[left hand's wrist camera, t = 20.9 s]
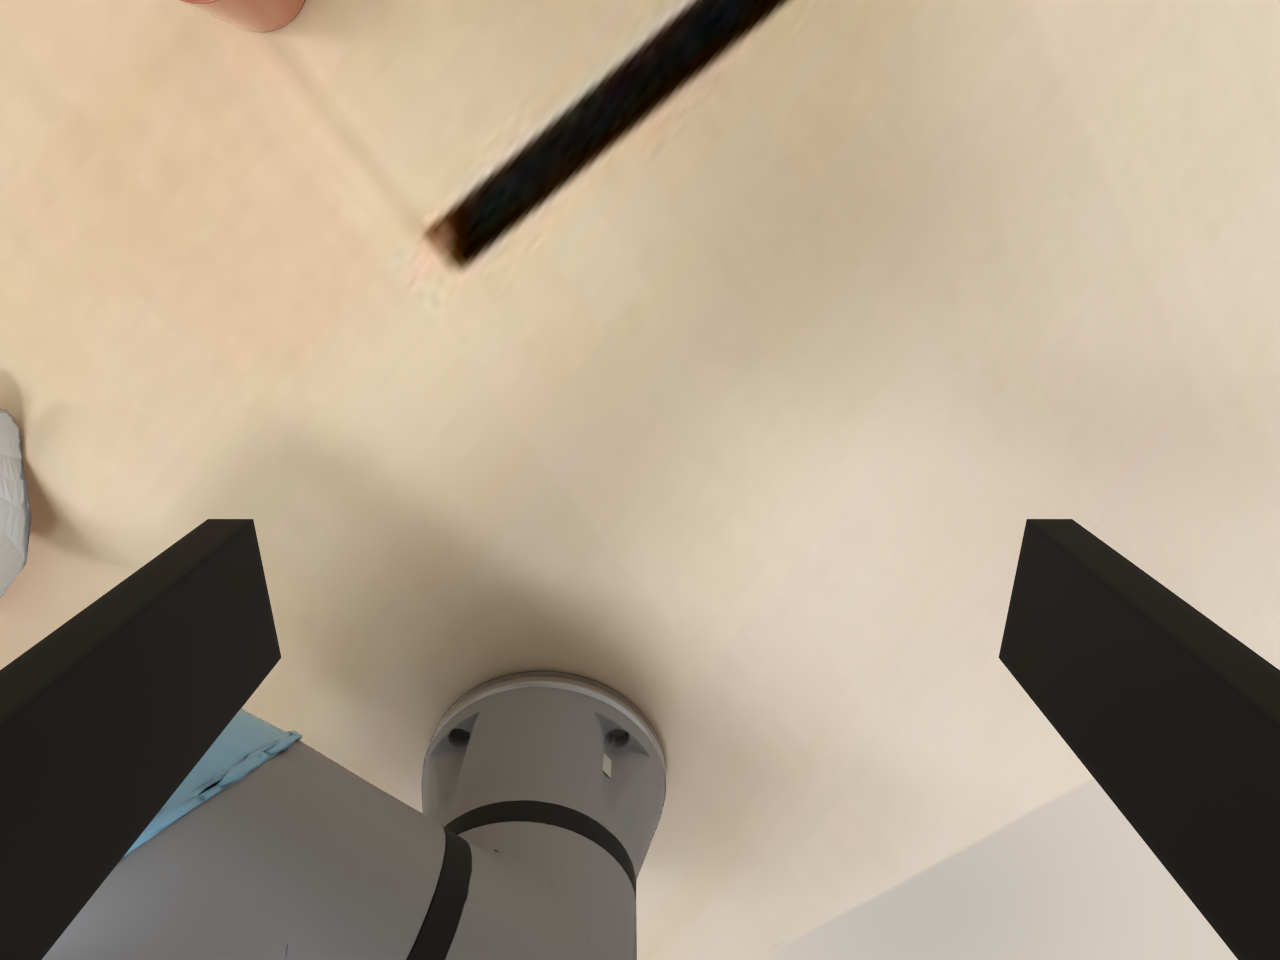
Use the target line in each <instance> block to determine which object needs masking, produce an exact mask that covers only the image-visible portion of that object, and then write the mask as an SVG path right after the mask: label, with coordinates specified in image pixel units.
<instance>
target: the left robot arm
mask: <svg viewBox="0 0 1280 960" xmlns="http://www.w3.org/2000/svg"><path fill="white" fill-rule="evenodd" d="M280 658H281V654H280V649H279V644H278V640H277V635H276V630H275V625H274V620H273V615H272V610H271V605H270V600H269V595H268V590H267V585H266V580H265V575H264V571H263V566H262V561H261V556H260V551H259V546H258V541H257V536H256V531H255V526H254V521H253V519H208V520H206V521H205V522H204V523H202V524H201V525H199V526H198V527H197V528H195V529H194V530H193V531H191V532H190V533H188V534H187V535H186V536H184V537H183V538H182V539H180V540H179V541H177V542H176V543H175V544H173V545H172V546H171V547H169V548H168V549H166V550H165V551H164V552H162V553H161V554H160V555H158V556H157V557H155V558H154V559H153V560H151V561H150V562H149V563H147V564H146V565H144V566H143V567H142V568H140V569H139V570H138V571H136V572H135V573H134V574H132V575H131V576H129V577H128V578H127V579H125V580H124V581H123V582H121V583H120V584H118V585H117V586H116V587H114V588H113V589H112V590H110V591H109V592H107V593H106V594H105V595H103V596H102V597H101V598H99V599H98V600H96V601H95V602H94V603H92V604H91V605H90V606H88V607H87V608H85V609H84V610H83V611H81V612H80V613H79V614H77V615H76V616H74V617H73V618H72V619H70V620H69V621H68V622H66V623H65V624H63V625H62V626H61V627H59V628H58V629H57V630H55V631H54V632H52V633H51V634H50V635H48V636H47V637H46V638H44V639H43V640H41V641H40V642H39V643H37V644H36V645H35V646H33V647H32V648H30V649H29V650H28V651H26V652H25V653H24V654H22V655H21V656H19V657H18V658H17V659H15V660H14V661H13V662H11V663H10V664H8V665H7V666H6V667H4V668H3V669H2V670H0V960H637V942H636V879H637V877H638V874H639V872H640V869H641V867H642V864H643V861H644V859H645V856H646V854H647V851H648V849H649V846H650V843H651V841H652V838H653V836H654V833H655V831H656V828H657V825H658V823H659V820H660V817H661V814H662V809H663V805H664V800H665V792H666V780H665V761H664V755H663V750H662V747H661V744H660V741H659V739H658V736H657V734H656V732H655V731H654V729H653V727H652V725H651V724H650V723H649V721H648V720H647V718H646V717H645V716H644V715H643V714H642V713H641V711H640V710H639V709H638V708H637V707H636V706H634V705H633V704H632V703H631V702H630V701H629V700H627V699H626V698H625V697H623V696H622V695H621V694H619V693H617V692H616V691H614V690H612V689H611V688H609V687H607V686H605V685H603V684H600V683H598V682H595V681H593V680H590V679H587V678H584V677H580V676H577V675H572V674H567V673H560V672H547V671H536V672H524V673H516V674H512V675H507V676H503V677H500V678H497V679H494V680H491V681H489V682H487V683H484V684H482V685H480V686H478V687H476V688H475V689H473V690H471V691H470V692H468V693H467V694H465V695H464V696H463V697H462V698H460V699H459V700H458V701H457V702H456V703H455V704H454V705H453V706H452V707H451V708H450V709H449V710H448V711H447V712H446V714H445V715H444V716H443V718H442V719H441V721H440V723H439V724H438V726H437V728H436V730H435V732H434V735H433V737H432V740H431V742H430V745H429V748H428V750H427V753H426V756H425V760H424V765H423V774H422V807H423V814H422V813H420V812H419V811H417V810H415V809H414V808H412V807H410V806H408V805H407V804H405V803H403V802H401V801H400V800H398V799H396V798H394V797H393V796H391V795H389V794H388V793H386V792H384V791H382V790H381V789H379V788H377V787H375V786H374V785H372V784H370V783H369V782H367V781H365V780H364V779H362V778H360V777H359V776H357V775H355V774H354V773H352V772H350V771H349V770H347V769H345V768H344V767H342V766H341V765H339V764H337V763H336V762H334V761H332V760H331V759H329V758H327V757H326V756H324V755H322V754H321V753H319V752H317V751H316V750H314V749H312V748H311V747H309V746H308V745H306V744H304V743H303V742H301V741H299V740H300V739H301V738H302V737H303V736H302V735H300V734H299V733H297V732H295V731H290V732H285V731H283V730H281V729H279V728H277V727H275V726H273V725H272V724H270V723H268V722H266V721H264V720H262V719H260V718H258V717H256V716H254V715H252V714H250V713H248V712H246V711H245V710H243V709H241V708H242V706H243V705H244V704H245V703H246V701H247V700H248V699H249V698H250V696H251V695H252V694H253V692H254V691H255V690H256V689H257V687H258V686H259V685H260V684H261V682H262V681H263V680H264V679H265V677H266V676H267V675H268V674H269V672H270V671H271V670H272V668H273V667H274V666H275V665H276V663H277V662H278V661H279V660H280ZM999 658H1000V660H1001V661H1002V662H1003V663H1004V665H1005V666H1006V667H1007V668H1008V670H1009V671H1010V672H1011V674H1012V675H1013V676H1014V677H1015V679H1016V680H1017V681H1018V682H1019V684H1020V685H1021V686H1022V687H1023V689H1024V690H1025V691H1026V692H1027V694H1028V695H1029V696H1030V698H1031V699H1032V700H1033V701H1034V703H1035V704H1036V705H1037V706H1038V708H1039V709H1040V710H1041V711H1042V713H1043V714H1044V715H1045V716H1046V718H1047V719H1048V720H1049V721H1050V723H1051V724H1052V725H1053V727H1054V728H1055V729H1056V730H1057V732H1058V733H1059V734H1060V735H1061V737H1062V738H1063V739H1064V740H1065V742H1066V743H1067V744H1068V745H1069V747H1070V748H1071V749H1072V751H1073V752H1074V753H1075V754H1076V756H1077V757H1078V758H1079V759H1080V761H1081V762H1082V763H1083V764H1084V766H1085V767H1086V768H1087V769H1088V771H1089V772H1090V773H1091V774H1092V776H1093V777H1094V778H1095V780H1096V781H1097V782H1098V783H1099V785H1100V786H1101V787H1102V788H1103V790H1104V791H1105V792H1106V793H1107V795H1108V796H1109V797H1110V798H1111V800H1112V801H1113V802H1114V803H1115V805H1116V806H1117V807H1118V809H1119V810H1120V811H1121V812H1122V814H1123V815H1124V816H1125V817H1126V819H1127V820H1128V821H1129V822H1130V824H1131V825H1132V826H1133V827H1134V829H1135V830H1136V831H1137V832H1138V834H1139V835H1140V836H1141V838H1142V839H1143V840H1144V841H1145V842H1146V844H1147V845H1148V846H1149V848H1150V849H1151V850H1152V851H1153V853H1154V854H1155V855H1156V856H1157V858H1158V859H1159V860H1160V861H1161V863H1162V864H1163V865H1164V867H1165V868H1166V869H1167V870H1168V872H1169V873H1170V874H1171V875H1172V877H1173V878H1174V879H1175V880H1176V882H1177V883H1178V884H1179V886H1180V887H1181V888H1182V889H1183V891H1184V892H1185V893H1186V894H1187V896H1188V897H1189V898H1190V899H1191V901H1192V902H1193V903H1194V904H1195V906H1196V907H1197V908H1198V909H1199V911H1200V912H1201V913H1202V915H1203V916H1204V917H1205V918H1206V920H1207V921H1208V922H1209V923H1210V925H1211V926H1212V927H1213V928H1214V930H1215V931H1216V932H1217V933H1218V935H1219V936H1220V937H1221V939H1222V940H1223V941H1224V942H1225V944H1226V945H1227V946H1228V947H1229V949H1230V950H1231V951H1232V952H1233V954H1234V955H1235V956H1236V957H1237V959H1238V960H1280V670H1278V669H1277V668H1276V667H1274V666H1273V665H1272V664H1270V663H1269V662H1267V661H1266V660H1265V659H1263V658H1262V657H1261V656H1259V655H1258V654H1256V653H1255V652H1254V651H1252V650H1251V649H1250V648H1248V647H1247V646H1245V645H1244V644H1243V643H1241V642H1240V641H1239V640H1237V639H1236V638H1234V637H1233V636H1232V635H1230V634H1229V633H1228V632H1226V631H1225V630H1223V629H1222V628H1221V627H1219V626H1218V625H1217V624H1215V623H1214V622H1212V621H1211V620H1210V619H1208V618H1207V617H1206V616H1204V615H1203V614H1201V613H1200V612H1199V611H1197V610H1196V609H1195V608H1193V607H1192V606H1190V605H1189V604H1188V603H1186V602H1185V601H1184V600H1182V599H1181V598H1179V597H1178V596H1177V595H1175V594H1174V593H1173V592H1171V591H1170V590H1168V589H1167V588H1166V587H1164V586H1163V585H1162V584H1160V583H1159V582H1157V581H1156V580H1155V579H1153V578H1152V577H1151V576H1149V575H1148V574H1146V573H1145V572H1144V571H1142V570H1141V569H1140V568H1138V567H1137V566H1136V565H1134V564H1133V563H1131V562H1130V561H1129V560H1127V559H1126V558H1125V557H1123V556H1122V555H1120V554H1119V553H1118V552H1116V551H1115V550H1114V549H1112V548H1111V547H1109V546H1108V545H1107V544H1105V543H1104V542H1103V541H1101V540H1100V539H1098V538H1097V537H1096V536H1094V535H1093V534H1092V533H1090V532H1089V531H1087V530H1086V529H1085V528H1083V527H1082V526H1081V525H1079V524H1078V523H1076V522H1075V521H1074V520H1072V519H1027V521H1026V526H1025V531H1024V536H1023V541H1022V546H1021V551H1020V556H1019V561H1018V566H1017V571H1016V575H1015V580H1014V585H1013V590H1012V595H1011V600H1010V605H1009V610H1008V615H1007V620H1006V625H1005V630H1004V635H1003V640H1002V644H1001V649H1000V654H999Z"/></svg>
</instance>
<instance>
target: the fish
mask: <svg viewBox="0 0 1280 960" xmlns="http://www.w3.org/2000/svg"><path fill="white" fill-rule="evenodd" d="M30 524H31V513H30V505H29V498H28V491H27V485H26V479H25V473H24V468H23V462H22V442H21V437H20V432H19V428H18V426H17V424H16V422H15V420H14V418H13V417H12V416H11V414H10V413H9V412H8V411H7V410H2V409H0V598H1V597H2V596H3V594H4V593H5V592H6V590H7V589H8V588H9V586H10V585H11V583H12V582H13V581H14V579H15V578H16V577H17V575H18V574H19V573H20V571H21V570H22V568H23V567H24V566H25V564H26V560H27V551H28V542H29V533H30Z"/></svg>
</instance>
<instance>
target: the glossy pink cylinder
mask: <svg viewBox="0 0 1280 960" xmlns="http://www.w3.org/2000/svg"><path fill="white" fill-rule="evenodd" d="M179 1H181V2H184V3H186V4H188V5H190V6H193V7H195V8H197V9H199V10H202V11H204V12H206V13H208V14H211V15H213V16H215V17H217V18H220V19H222V20H224V21H226V22H229V23H231V24H233V25H235V26H238V27H240V28H243V29H246V30H249V31H254V32H269V31H273V30H276V29H279V28H281V27H283V26H285V25H286V24H288V23H289V22H290V21H291V20H293V19H294V17H295V16H296V15H297V14H298V13H299V11H300V9H301V8H302V6H303V3H304V1H305V0H179Z"/></svg>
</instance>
